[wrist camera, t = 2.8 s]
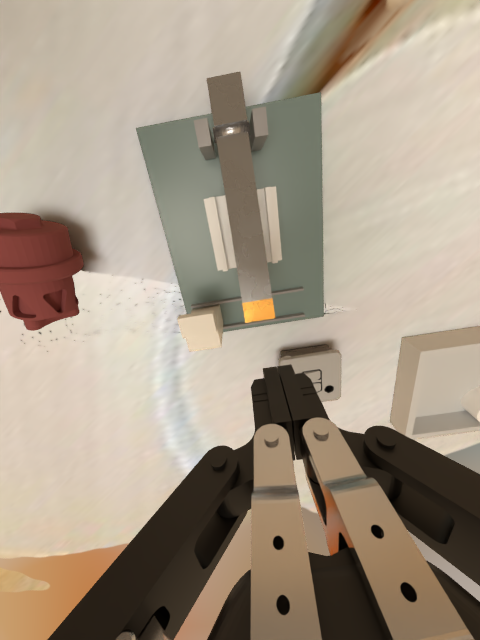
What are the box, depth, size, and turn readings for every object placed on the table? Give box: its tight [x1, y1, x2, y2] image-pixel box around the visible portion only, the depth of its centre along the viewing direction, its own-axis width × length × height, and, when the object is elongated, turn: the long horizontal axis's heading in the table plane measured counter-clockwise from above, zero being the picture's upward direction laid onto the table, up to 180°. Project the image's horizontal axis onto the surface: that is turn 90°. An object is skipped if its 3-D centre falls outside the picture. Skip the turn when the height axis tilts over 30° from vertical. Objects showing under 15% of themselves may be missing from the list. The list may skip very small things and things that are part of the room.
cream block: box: [177, 304, 223, 352], centre depth 31 cm, size 5×4×8 cm
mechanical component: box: [0, 213, 84, 330], centre depth 28 cm, size 12×10×10 cm
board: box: [136, 93, 324, 332], centre depth 29 cm, size 26×20×7 cm
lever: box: [207, 72, 275, 323], centre depth 23 cm, size 22×3×2 cm, turn 9°
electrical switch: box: [279, 345, 341, 402], centre depth 39 cm, size 9×5×9 cm
